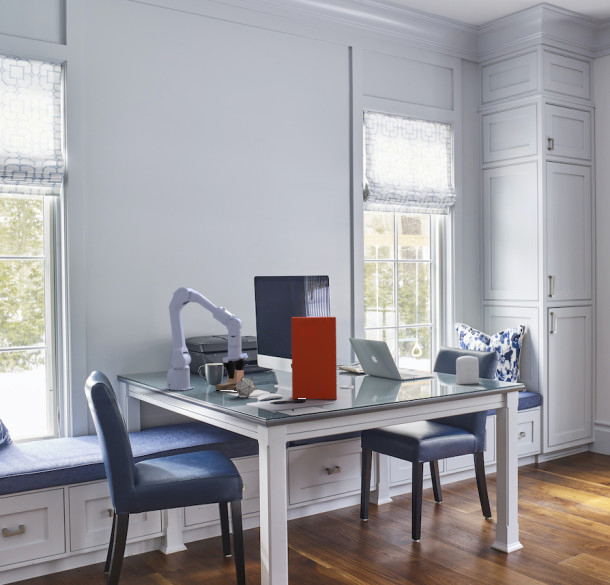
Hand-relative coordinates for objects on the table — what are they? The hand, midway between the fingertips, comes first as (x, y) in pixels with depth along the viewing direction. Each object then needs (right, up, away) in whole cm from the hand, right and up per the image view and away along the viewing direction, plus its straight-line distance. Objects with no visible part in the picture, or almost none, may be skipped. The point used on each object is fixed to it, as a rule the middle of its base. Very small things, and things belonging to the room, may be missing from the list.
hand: (235, 377), depth 311 cm
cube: (0, -2, 0) cm, 2 cm away
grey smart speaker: (+102, -4, +12) cm, 103 cm away
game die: (+6, -6, -20) cm, 21 cm away
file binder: (+33, -6, -24) cm, 42 cm away
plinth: (0, -5, 0) cm, 5 cm away
